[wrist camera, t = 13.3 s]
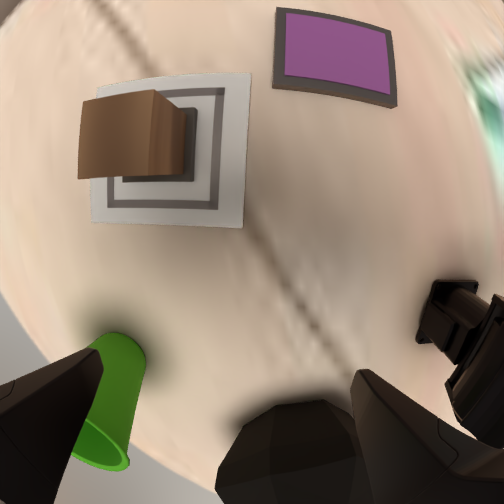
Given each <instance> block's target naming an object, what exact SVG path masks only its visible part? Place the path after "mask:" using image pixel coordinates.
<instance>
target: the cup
mask: <svg viewBox="0 0 504 504" xmlns="http://www.w3.org/2000/svg"><path fill="white" fill-rule="evenodd" d="M88 347H90V348H95V349H97V350H98V351H99V353H100V356H101V359H102V363H103V366H104V372H103V375H102V378H101V381H100V384H99V387H98V390H97V393H96V396H95V399H94V401H93V404H92V407H91V409H90V411H89V413H88V416H87V418H86V420H85V422H84V425H83V427H82V429H81V431H80V434H79V436H78V439H77V441H76V443H75V446H74V448H73V451H72V453H71V455H72V456H74V457H76V458H77V459H79V460H81V461H83V462H85V463H87V464H89V465H92V466H94V467H97V468H100V469H104V470H108V471H122V470H125V469H126V468H127V467H128V466H129V464H130V460H129V458H128V455H127V450H128V444H129V439H130V434H131V429H132V424H133V419H134V415H135V410H136V405H137V401H138V397H139V392H140V388H141V384H142V380H143V376H144V372H145V368H146V362H145V356H144V353H143V351H142V350H141V348H140V347H139V346H138V344H137V343H136V342H135V341H133V340H132V339H131V338H129V337H127V336H126V335H123V334H120V333H108V334H104V335H102V336H101V337H100V338H98V339H97V340H96V341H94V342H93V343H92V344H90V345H89V346H88ZM86 348H87V347H86Z"/></svg>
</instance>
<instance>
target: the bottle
mask: <svg viewBox="0 0 504 504" xmlns="http://www.w3.org/2000/svg"><path fill="white" fill-rule="evenodd" d="M215 491H216V492H217V494H218V495H219V497H220V498H221V500H222V501H223V503H224V504H375V502H374V497H373V493H372V489H371V484H370V480H369V476H368V472H367V468H366V464H365V460H364V456H363V452H362V449H361V445H360V441H359V437H358V434H357V430H356V425H355V420H354V419H353V418H352V417H351V416H350V414H349V413H347V412H345V411H343V410H342V409H340V408H338V407H336V406H334V405H332V404H331V403H329V402H327V401H325V400H317V401H310V402H303V403H295V404H285V405H276V406H274V407H273V408H271V409H270V410H268V411H267V412H265V413H264V414H262V415H261V416H259V417H257V418H256V419H254V420H253V421H251V422H249V423H248V424H246V425H244V426H243V428H242V430H241V431H240V433H239V435H238V436H237V438H236V440H235V441H234V443H233V445H232V446H231V448H230V450H229V451H228V453H227V455H226V456H225V458H224V460H223V461H222V463H221V464H220V466H219V468H218V472H217V477H216V483H215Z"/></svg>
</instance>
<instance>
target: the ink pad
mask: <svg viewBox="0 0 504 504" xmlns="http://www.w3.org/2000/svg"><path fill="white" fill-rule="evenodd" d="M272 88H275V89H287V90H296V91H305V92H312V93H319V94H326V95H332V96H338V97H343V98H348V99H353V100H358V101H362V102H367V103H371V104H375V105H379V106H383V107H387V108H391V109H392V108H394V107H397V85H396V71H395V60H394V50H393V42H392V35H391V31H390V30H387V29H384V28H381V27H377V26H374V25H371V24H367V23H364V22H360V21H356V20H352V19H348V18H344V17H340V16H335V15H330V14H325V13H319V12H313V11H307V10H300V9H291V8H281V7H276V17H275V42H274V65H273V86H272Z"/></svg>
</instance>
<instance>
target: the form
mask: <svg viewBox="0 0 504 504" xmlns="http://www.w3.org/2000/svg"><path fill="white" fill-rule="evenodd" d="M250 87H251V73H199V74H183V75H171V76H162V77H153V78H146V79H139V80H133V81H127V82H122V83H116V84H111V85H107V86H102V87H98V88H97V95H96V99H97V98H102V97H107V96H112V95H117V94H123V93H129V92H135V91H143V90H150V89H155V90H156V91H158V92H159V93H160V94H161V95H163V96H164V97H165V98H167V99H168V100H169V101H170V102H172V103H173V104H174V105H175V106H177V107H178V108H187V107H195V108H196V109H197V110H198V116H197V130H196V146H195V166H194V181H193V182H129V183H122V176H121V177H103V178H90V202H91V223H117V224H152V225H180V226H204V227H225V228H243V209H244V190H245V171H246V153H247V135H248V119H249V102H250Z"/></svg>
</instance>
